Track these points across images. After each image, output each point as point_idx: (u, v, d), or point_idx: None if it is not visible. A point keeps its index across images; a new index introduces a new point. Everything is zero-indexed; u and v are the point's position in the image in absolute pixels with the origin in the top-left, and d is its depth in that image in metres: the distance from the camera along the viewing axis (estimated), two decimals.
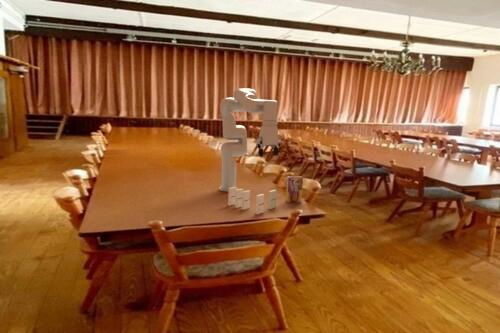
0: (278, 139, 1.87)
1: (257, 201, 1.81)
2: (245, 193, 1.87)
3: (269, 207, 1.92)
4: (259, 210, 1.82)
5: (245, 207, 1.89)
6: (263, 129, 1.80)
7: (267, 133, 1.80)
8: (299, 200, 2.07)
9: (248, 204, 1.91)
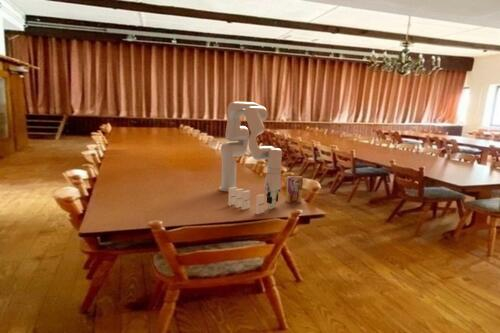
0: None
1: (257, 201, 1.81)
2: (245, 193, 1.87)
3: (269, 207, 1.92)
4: (259, 210, 1.82)
5: (245, 207, 1.89)
6: (270, 176, 1.86)
7: (273, 180, 1.87)
8: (299, 200, 2.07)
9: (248, 204, 1.91)
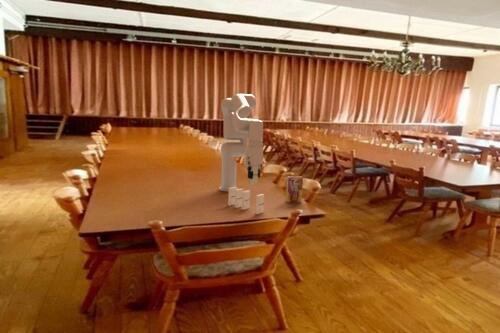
0: None
1: (257, 201, 1.81)
2: (245, 193, 1.87)
3: (250, 183, 1.82)
4: (259, 210, 1.82)
5: (245, 207, 1.89)
6: (250, 149, 1.77)
7: (254, 154, 1.78)
8: (299, 200, 2.07)
9: (248, 204, 1.91)
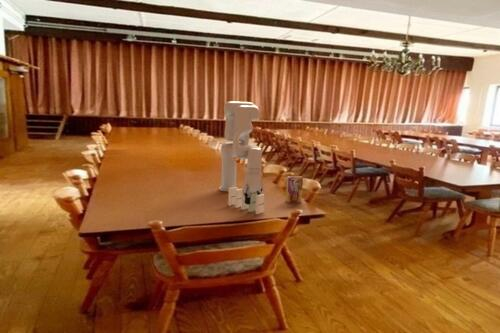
0: None
1: (257, 201, 1.81)
2: None
3: (249, 210, 1.85)
4: (259, 210, 1.82)
5: (245, 207, 1.89)
6: (249, 177, 1.80)
7: (253, 181, 1.81)
8: (299, 200, 2.07)
9: None
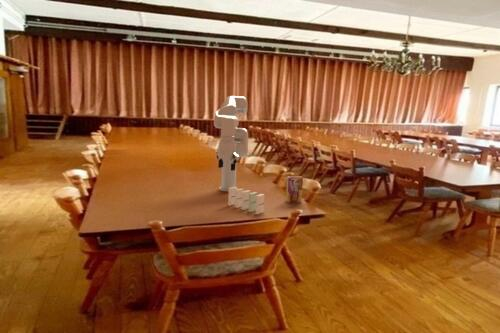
0: None
1: (257, 201, 1.81)
2: (245, 193, 1.87)
3: (249, 210, 1.85)
4: (259, 210, 1.82)
5: (245, 207, 1.89)
6: (234, 144, 1.92)
7: None
8: (299, 200, 2.07)
9: (248, 204, 1.91)
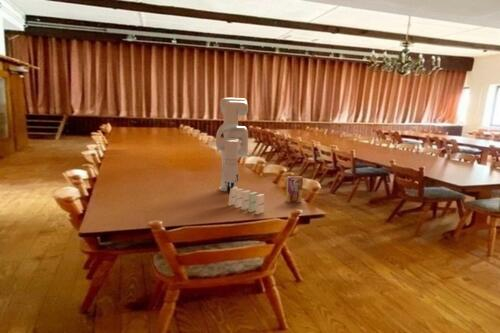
0: None
1: (257, 201, 1.81)
2: (245, 193, 1.87)
3: (249, 210, 1.85)
4: (259, 210, 1.82)
5: (245, 207, 1.89)
6: (237, 167, 1.92)
7: None
8: (299, 200, 2.07)
9: (248, 204, 1.91)
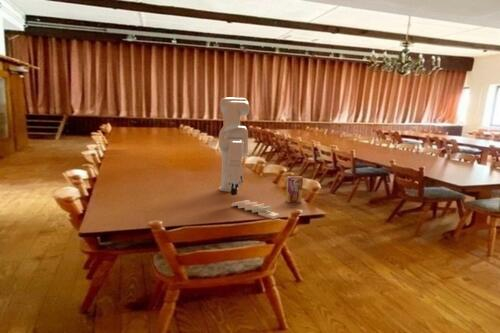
0: None
1: (268, 216, 1.77)
2: (258, 208, 1.82)
3: (253, 211, 1.84)
4: None
5: None
6: (241, 168, 1.90)
7: None
8: (299, 200, 2.07)
9: None
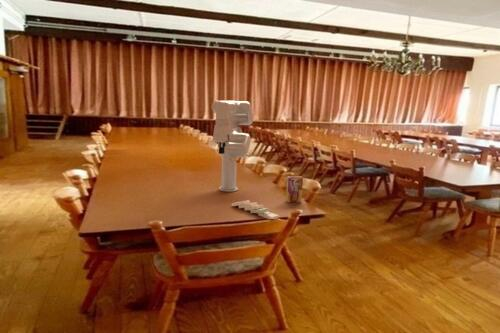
0: None
1: (267, 217, 1.76)
2: (257, 208, 1.81)
3: (251, 211, 1.83)
4: None
5: None
6: (228, 127, 2.00)
7: None
8: (299, 200, 2.07)
9: None
